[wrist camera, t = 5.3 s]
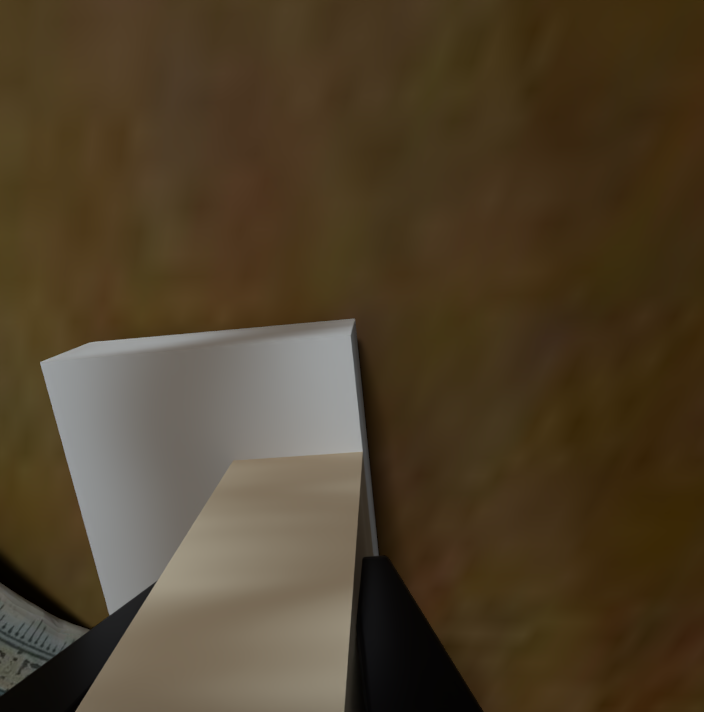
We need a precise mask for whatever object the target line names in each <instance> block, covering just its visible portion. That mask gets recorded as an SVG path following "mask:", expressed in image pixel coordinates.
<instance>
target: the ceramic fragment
mask: <svg viewBox="0 0 704 712" xmlns="http://www.w3.org/2000/svg"><path fill="white" fill-rule="evenodd" d="M89 630H90V629H86V628H83V627H80V626H78V625H75V624H72V623H69V622H67V621H64V620H62V619H60V618H58V617H56V616H54V615H51V614H50V613H48V612H46V611H45V610H43V609H41V608H40V607H38V606H37V605H35V604H33V603H31V602H29V601H28V600H26V599H24V598H23V597H21V596H20V595H18V594H16V593H15V592H13V591H12V590H10V589H9V588H7V587H6V586H4V585H3V584H1V583H0V696H1V695H3V694H4V693H5V692H7V691H8V690H9V689H11V688H12V687H13V686H15V685H16V684H17V683H19V682H20V681H22V680H23V679H24V678H26V677H27V676H28V675H30V674H31V673H32V672H34V671H35V670H36V669H38V668H39V667H41V666H42V665H43V664H45V663H46V662H47V661H49V660H50V659H51V658H53V657H54V656H55V655H57V654H58V653H60V652H61V651H62V650H64V649H65V648H66V647H68V646H69V645H70V644H72V643H73V642H74V641H76V640H77V639H79V638H80V637H81V636H83V635H84V634H85V633H87V632H88V631H89Z"/></svg>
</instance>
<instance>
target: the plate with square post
mask: <svg viewBox="0 0 704 712" xmlns="http://www.w3.org/2000/svg"><path fill="white" fill-rule="evenodd" d="M40 364H41V368H42V371H43V375H44V378H45V382H46V386H47V389H48V393H49V397H50V400H51V404H52V408H53V411H54V415H55V419H56V422H57V426H58V429H59V433H60V437H61V440H62V444H63V448H64V451H65V455H66V459H67V462H68V466H69V469H70V473H71V477H72V480H73V484H74V488H75V491H76V495H77V499H78V502H79V506H80V509H81V513H82V517H83V520H84V524H85V528H86V531H87V535H88V539H89V542H90V546H91V549H92V553H93V557H94V560H95V564H96V568H97V571H98V575H99V579H100V582H101V586H102V590H103V593H104V597H105V600H106V604H107V608H108V611H109V615H111V614H112V613H114V612H115V611H117V610H118V609H119V608H121V607H122V606H123V605H125V604H126V603H127V602H129V601H130V600H131V599H133V598H134V597H136V596H137V595H138V594H140V593H141V592H142V591H144V590H145V589H146V588H148V587H149V586H150V585H152V584H153V583H155V582H156V581H157V580H158V581H157V582H156V584H155V586H154V587H153V589H152V590H151V592H150V593H149V595H148V597H147V598H146V600H145V601H144V603H143V605H142V606H141V608H140V609H139V611H138V613H137V614H136V616H135V617H134V619H133V621H132V622H131V624H130V625H129V627H128V628H127V630H126V632H125V633H124V635H123V636H122V638H121V640H120V641H119V643H118V644H117V646H116V648H115V649H114V651H113V652H112V654H111V656H110V657H109V659H108V660H107V662H106V663H105V665H104V667H103V668H102V670H101V671H100V673H99V675H98V676H97V678H96V679H95V681H94V683H93V684H92V686H91V687H90V689H89V691H88V692H87V694H86V695H85V697H84V698H83V700H82V702H81V703H80V705H79V706H78V708H77V710H76V711H75V712H365V703H364V694H363V685H362V676H361V667H360V658H359V649H358V640H357V632H356V623H357V609H358V598H359V588H360V578H361V568H362V559H363V557H367V556H379V552H378V543H377V533H376V523H375V513H374V503H373V493H372V483H371V473H370V463H369V453H368V443H367V433H366V423H365V413H364V403H363V393H362V383H361V373H360V363H359V354H358V344H357V334H356V324H355V319H345V320H334V321H322V322H311V323H300V324H289V325H278V326H267V327H256V328H245V329H234V330H222V331H211V332H200V333H189V334H178V335H167V336H156V337H145V338H134V339H122V340H111V341H100V342H90V343H87V344H85V345H82V346H80V347H77V348H75V349H72V350H70V351H67V352H65V353H62V354H59V355H57V356H54V357H52V358H49V359H47V360H44V361H42V362H40Z"/></svg>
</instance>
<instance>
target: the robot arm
mask: <svg viewBox="0 0 704 712" xmlns="http://www.w3.org/2000/svg"><path fill="white" fill-rule="evenodd" d="M157 581H158V580H157ZM157 581H156V582H157ZM156 582H155V583H153V584H152V585H150V586H149V587H148V588H146V589H145V590H144V591H142V592H141V593H140V594H138V595H137V596H136V597H134V598H133V599H131V600H130V601H129V602H127V603H126V604H125V605H123V606H122V607H121V608H119V609H118V610H117V611H115V612H114V613H112V614H111V615H110V616H108V617H107V618H106V619H104V620H103V621H102V622H100V623H99V624H98V625H96V626H95V627H93V628H92V629H91V630H89V631H88V632H87V633H85V634H84V635H83V636H81V637H80V638H79V639H77V640H76V641H74V642H73V643H72V644H70V645H69V646H68V647H66V648H65V649H64V650H62V651H61V652H60V653H58V654H57V655H55V656H54V657H53V658H51V659H50V660H49V661H47V662H46V663H45V664H43V665H42V666H41V667H39V668H38V669H36V670H35V671H34V672H32V673H31V674H30V675H28V676H27V677H26V678H24V679H23V680H22V681H20V682H19V683H17V684H16V685H15V686H13V687H12V688H11V689H9V690H8V691H7V692H5V693H4V694H3V695H1V696H0V712H75V711H76V710H77V708H78V706H79V705H80V703H81V702H82V700H83V698H84V697H85V695H86V694H87V692H88V691H89V689H90V687H91V686H92V684H93V683H94V681H95V679H96V678H97V676H98V675H99V673H100V671H101V670H102V668H103V667H104V665H105V663H106V662H107V660H108V659H109V657H110V656H111V654H112V652H113V651H114V649H115V648H116V646H117V644H118V643H119V641H120V640H121V638H122V636H123V635H124V633H125V632H126V630H127V628H128V627H129V625H130V624H131V622H132V621H133V619H134V617H135V616H136V614H137V613H138V611H139V609H140V608H141V606H142V605H143V603H144V601H145V600H146V598H147V597H148V595H149V593H150V592H151V590H152V589H153V587H154V586H155V584H156ZM356 632H357V640H358V649H359V658H360V667H361V676H362V685H363V694H364V703H365V712H483V710H482V708H481V707H480V705H479V704H478V702H477V700H476V699H475V697H474V695H473V694H472V692H471V691H470V689H469V687H468V686H467V684H466V682H465V681H464V679H463V678H462V676H461V674H460V673H459V671H458V669H457V668H456V666H455V665H454V663H453V661H452V660H451V658H450V657H449V655H448V653H447V652H446V650H445V648H444V647H443V645H442V644H441V642H440V640H439V639H438V637H437V635H436V634H435V632H434V631H433V629H432V627H431V626H430V624H429V622H428V621H427V619H426V618H425V616H424V614H423V613H422V611H421V609H420V608H419V606H418V605H417V603H416V601H415V600H414V598H413V596H412V595H411V593H410V592H409V590H408V588H407V587H406V585H405V583H404V582H403V580H402V579H401V577H400V575H399V574H398V572H397V570H396V569H395V567H394V566H393V564H392V562H391V561H390V559H389V558H388V557H387V556H367V557H363V559H362V568H361V578H360V588H359V598H358V609H357V623H356Z"/></svg>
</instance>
